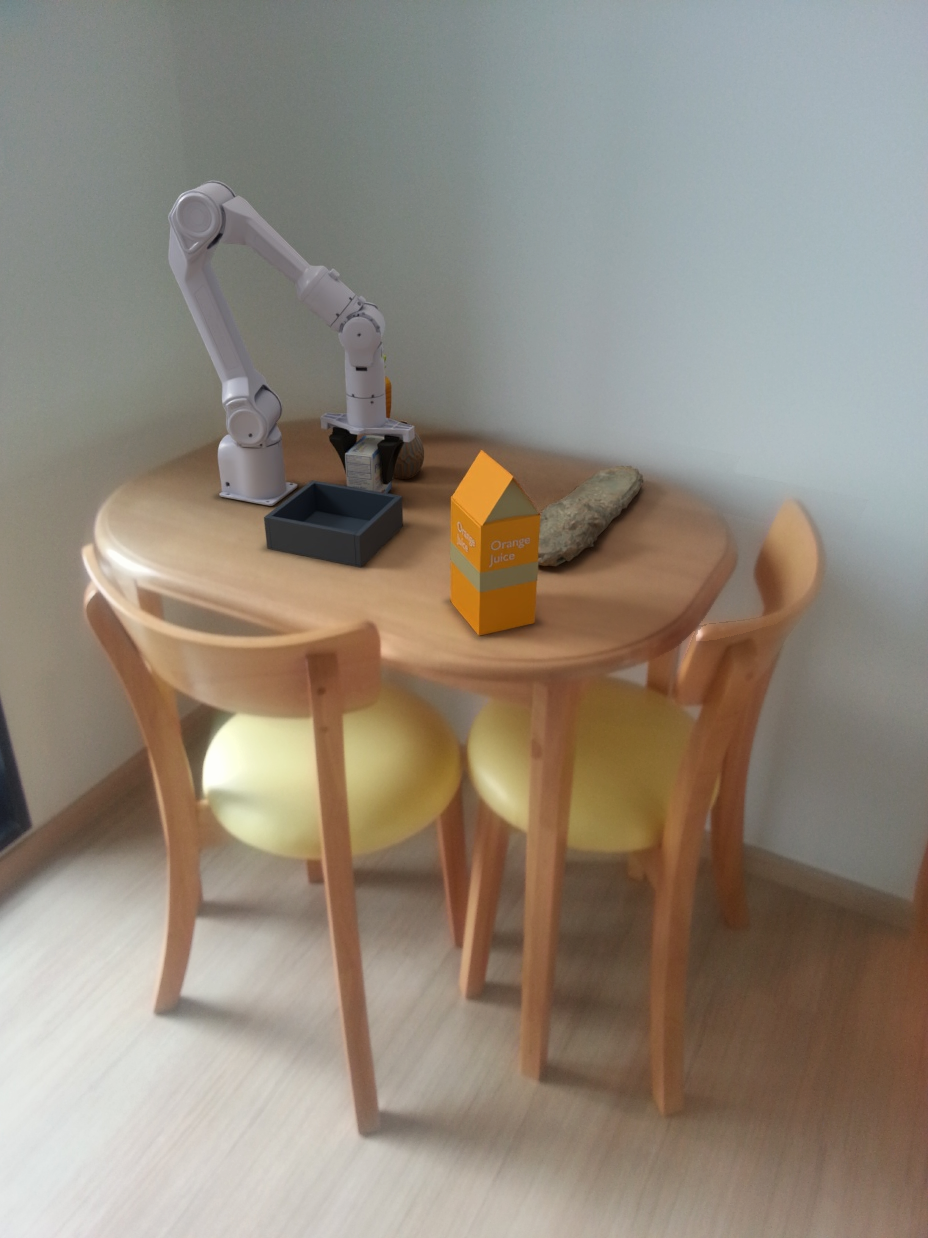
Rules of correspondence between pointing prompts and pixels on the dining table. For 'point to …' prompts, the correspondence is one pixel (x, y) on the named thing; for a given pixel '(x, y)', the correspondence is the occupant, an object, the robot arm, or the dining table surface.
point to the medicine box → (365, 465)
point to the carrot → (387, 394)
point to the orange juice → (493, 549)
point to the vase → (409, 458)
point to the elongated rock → (585, 513)
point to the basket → (334, 523)
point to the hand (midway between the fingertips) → (369, 478)
